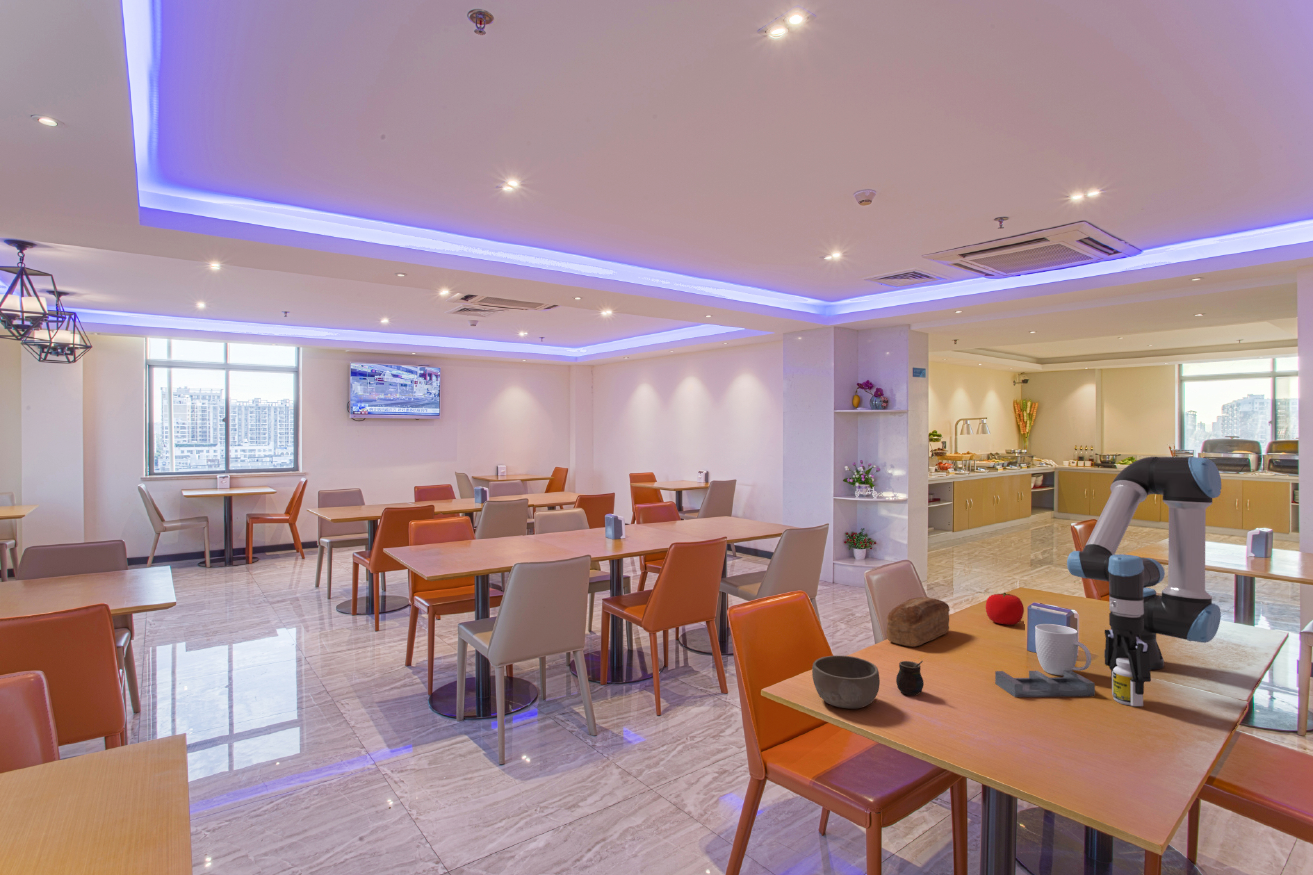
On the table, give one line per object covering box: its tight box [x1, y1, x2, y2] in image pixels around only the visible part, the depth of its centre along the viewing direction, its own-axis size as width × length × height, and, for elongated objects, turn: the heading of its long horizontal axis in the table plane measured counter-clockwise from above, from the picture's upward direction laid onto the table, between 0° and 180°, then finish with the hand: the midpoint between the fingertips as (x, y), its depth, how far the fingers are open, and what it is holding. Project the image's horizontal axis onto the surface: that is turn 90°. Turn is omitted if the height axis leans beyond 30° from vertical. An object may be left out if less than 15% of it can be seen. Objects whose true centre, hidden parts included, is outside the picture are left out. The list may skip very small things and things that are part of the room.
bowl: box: [811, 655, 881, 710], centre depth 176 cm, size 17×18×10 cm
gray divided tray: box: [994, 670, 1096, 698], centre depth 184 cm, size 22×10×4 cm, turn 91°
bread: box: [886, 596, 950, 647], centre depth 233 cm, size 12×31×14 cm, turn 133°
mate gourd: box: [895, 660, 925, 697], centre depth 182 cm, size 7×8×10 cm
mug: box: [1034, 623, 1092, 677], centre depth 196 cm, size 15×11×13 cm
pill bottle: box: [1112, 658, 1138, 707], centre depth 175 cm, size 6×6×11 cm
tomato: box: [985, 592, 1025, 626], centre depth 251 cm, size 13×14×12 cm
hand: (1127, 700), depth 175 cm, fingers closed on pill bottle, 6 cm apart
